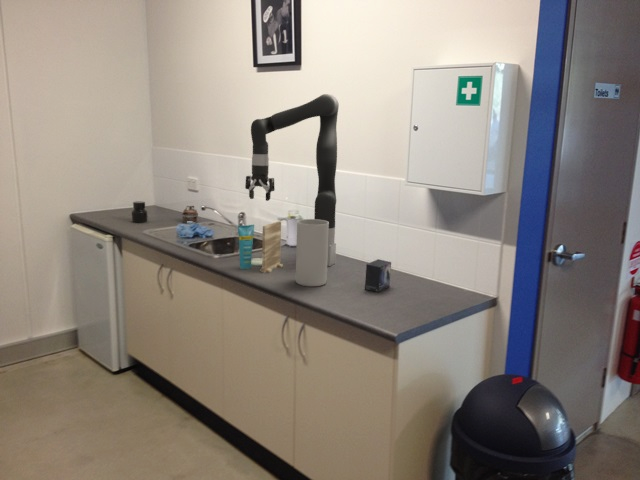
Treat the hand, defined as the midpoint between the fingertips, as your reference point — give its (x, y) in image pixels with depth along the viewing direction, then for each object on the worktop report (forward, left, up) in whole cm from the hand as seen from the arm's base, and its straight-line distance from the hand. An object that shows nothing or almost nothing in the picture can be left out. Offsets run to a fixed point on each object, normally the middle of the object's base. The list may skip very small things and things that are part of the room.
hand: (259, 199), depth 263 cm
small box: (-64, +16, -28) cm, 72 cm away
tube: (-4, +18, -28) cm, 34 cm away
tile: (-4, +7, -28) cm, 29 cm away
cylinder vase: (-38, +23, -28) cm, 53 cm away
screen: (-14, +13, -28) cm, 34 cm away
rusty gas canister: (+81, -55, -28) cm, 102 cm away
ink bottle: (+106, -39, -28) cm, 116 cm away
